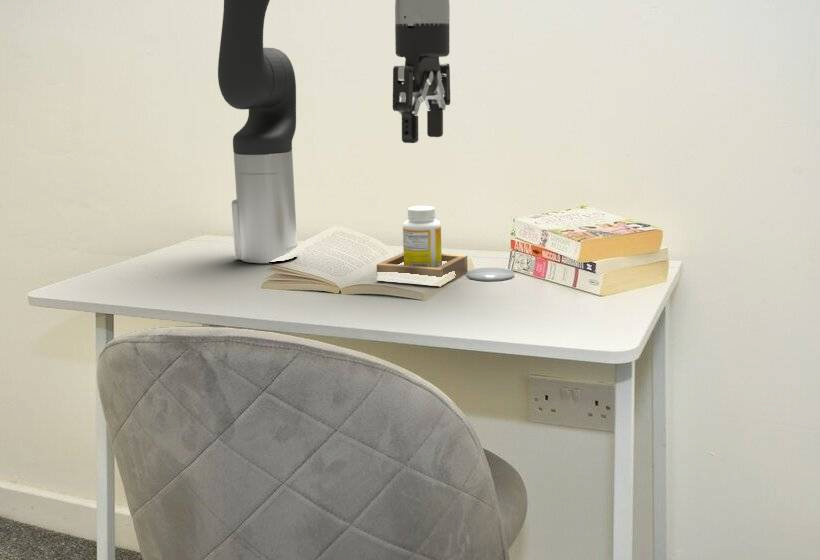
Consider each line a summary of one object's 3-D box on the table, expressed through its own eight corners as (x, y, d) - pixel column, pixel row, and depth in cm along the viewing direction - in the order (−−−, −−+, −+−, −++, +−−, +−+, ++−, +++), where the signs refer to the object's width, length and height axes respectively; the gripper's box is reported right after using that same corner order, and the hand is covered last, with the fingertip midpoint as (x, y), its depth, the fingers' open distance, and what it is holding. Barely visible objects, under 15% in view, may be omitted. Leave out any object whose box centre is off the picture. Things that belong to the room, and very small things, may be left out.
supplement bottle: (430, 270, 144) (429, 203, 142) (448, 278, 139) (447, 208, 137) (397, 275, 141) (395, 207, 139) (415, 283, 137) (413, 212, 134)
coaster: (458, 278, 138) (458, 276, 138) (476, 268, 144) (476, 266, 144) (504, 282, 135) (504, 280, 135) (520, 272, 141) (520, 269, 141)
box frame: (377, 281, 138) (376, 264, 137) (407, 266, 147) (406, 251, 146) (440, 287, 134) (440, 269, 133) (467, 272, 142) (467, 255, 142)
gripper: (419, 22, 140) (419, 134, 143) (374, 21, 127) (376, 143, 131) (466, 21, 136) (466, 136, 140) (425, 20, 124) (426, 145, 128)
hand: (422, 139), depth 136 cm, fingers open, 8 cm apart
